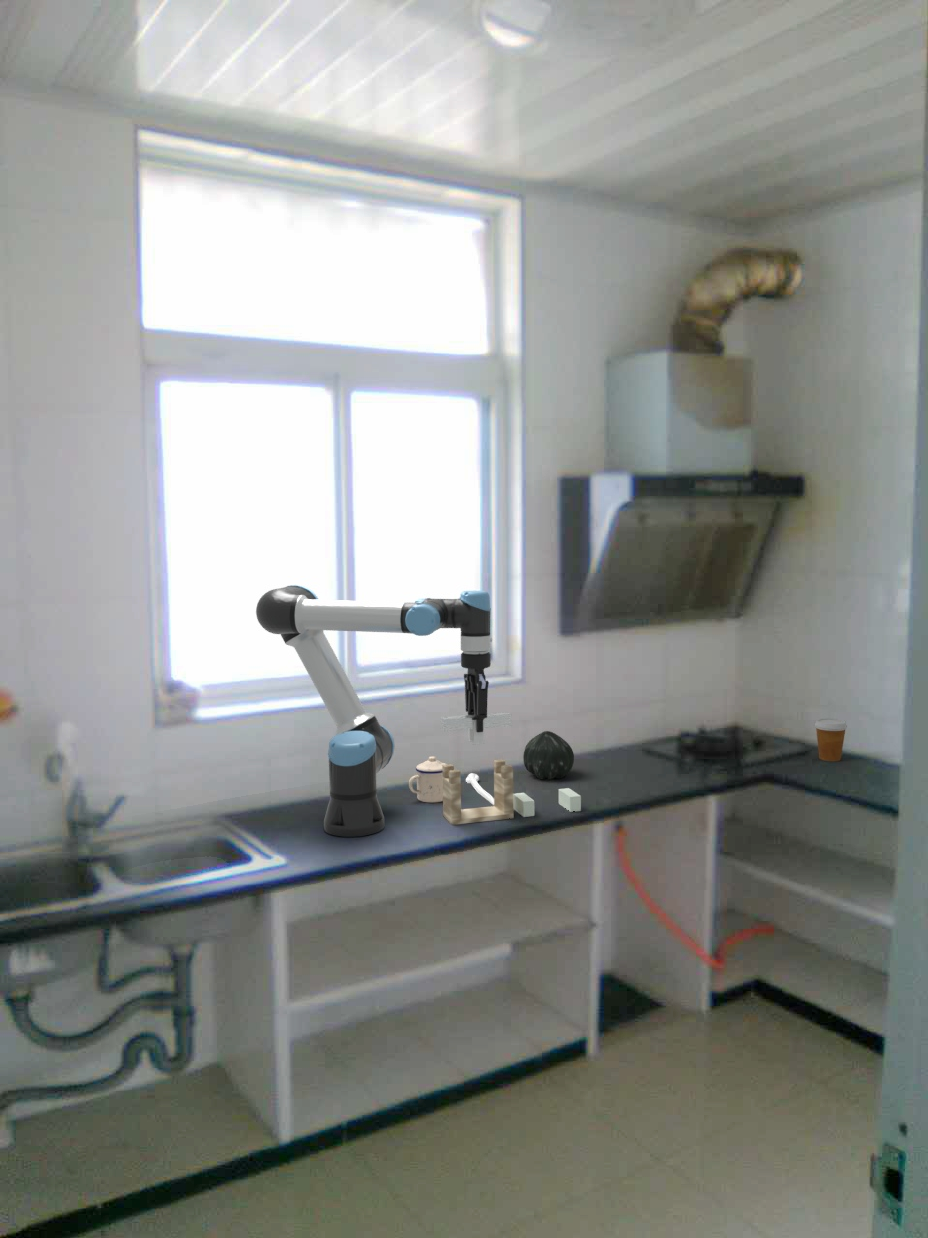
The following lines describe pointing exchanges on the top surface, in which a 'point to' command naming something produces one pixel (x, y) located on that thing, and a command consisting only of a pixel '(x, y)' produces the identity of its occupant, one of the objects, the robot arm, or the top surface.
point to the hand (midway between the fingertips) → (476, 742)
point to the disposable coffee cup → (830, 738)
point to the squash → (548, 756)
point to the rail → (467, 722)
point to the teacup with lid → (429, 781)
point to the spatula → (479, 787)
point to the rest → (566, 799)
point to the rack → (496, 812)
